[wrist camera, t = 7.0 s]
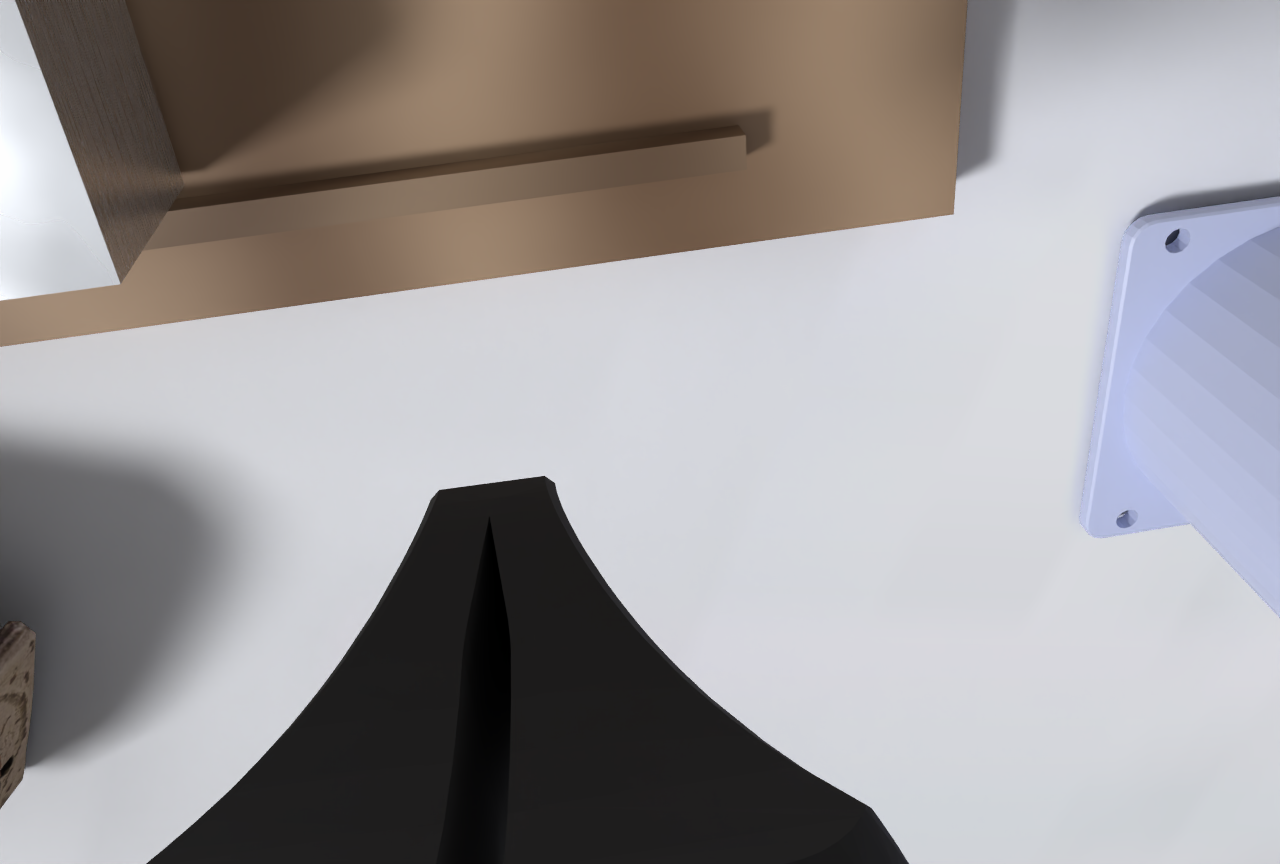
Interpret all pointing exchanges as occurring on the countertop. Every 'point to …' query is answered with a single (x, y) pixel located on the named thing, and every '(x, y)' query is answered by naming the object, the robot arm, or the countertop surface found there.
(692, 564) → the countertop surface
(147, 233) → the brushed steel box
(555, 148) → the rail board
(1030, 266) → the countertop surface
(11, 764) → the mechanical counter
